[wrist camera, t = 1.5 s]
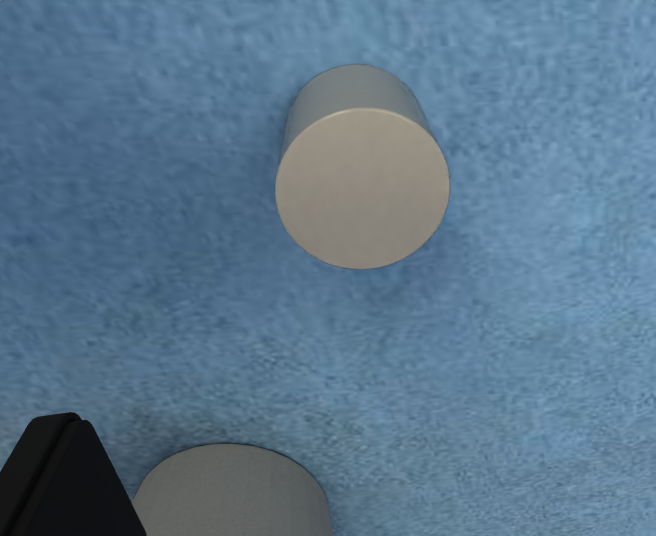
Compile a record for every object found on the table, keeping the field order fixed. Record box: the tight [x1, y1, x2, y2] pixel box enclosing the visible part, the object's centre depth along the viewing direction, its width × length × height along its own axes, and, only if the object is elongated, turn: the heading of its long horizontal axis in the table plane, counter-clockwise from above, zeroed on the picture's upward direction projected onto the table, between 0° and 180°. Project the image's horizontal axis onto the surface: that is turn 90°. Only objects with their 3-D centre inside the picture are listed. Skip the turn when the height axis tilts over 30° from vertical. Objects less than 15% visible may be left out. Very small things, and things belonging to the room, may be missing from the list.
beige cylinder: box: [275, 64, 450, 269], centre depth 19 cm, size 5×5×5 cm
